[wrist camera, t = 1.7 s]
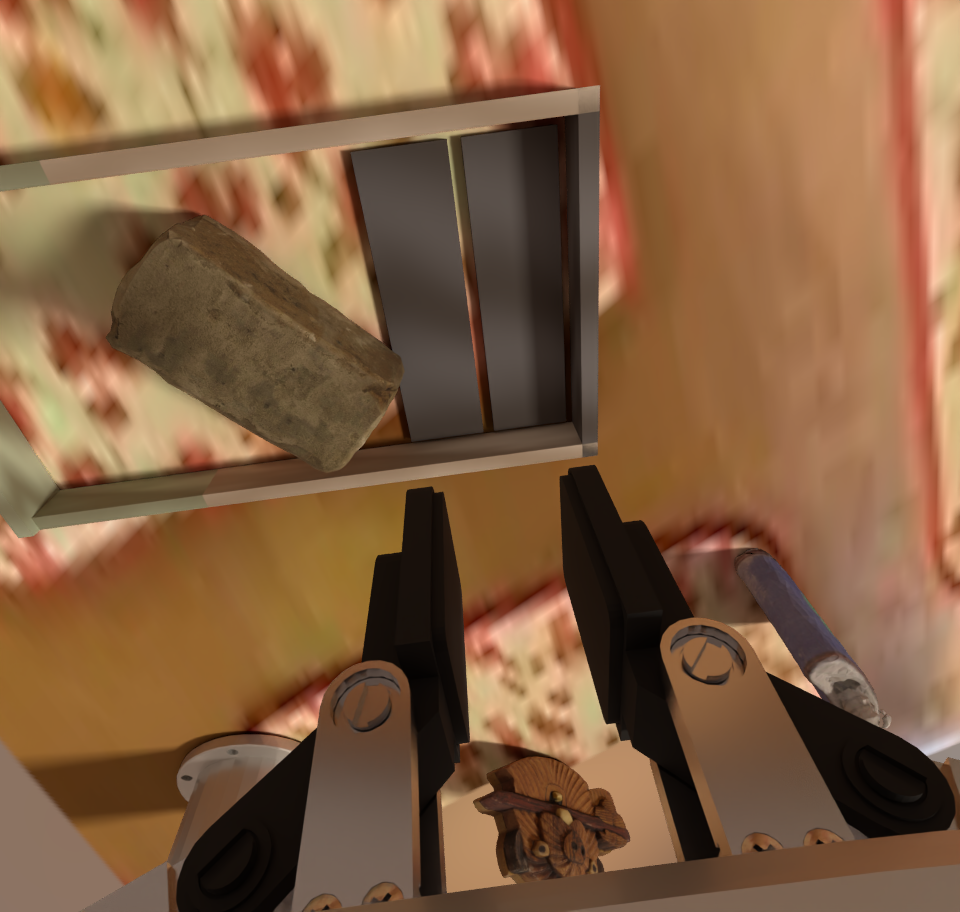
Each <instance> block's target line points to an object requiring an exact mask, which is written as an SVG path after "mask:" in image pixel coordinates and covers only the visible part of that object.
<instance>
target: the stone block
mask: <svg viewBox="0 0 960 912" xmlns="http://www.w3.org/2000/svg"><path fill="white" fill-rule="evenodd" d="M111 315H112V321H113V323H112V327H111V331H110V333H109V334H108V335H107V336H106V339H107V340H108V342H109V343H110V345H111V346H112V348H114V349H116V350H118V351H121V352H123V353H125V354H127V355H129V356H131V357H133V358H135V359H137V360H139V361H141V362H142V363H144V364H145V365H147V366H148V367H150V368H151V369H153V370H154V371H156V372H157V373H158V374H159V375H160V376H161V377H162V378H163V379H164V380H165V381H166V382H167V383H169V384H171V385H173V386H174V387H176V388H178V389H180V390H182V391H184V392H186V393H187V394H189V395H191V396H193V397H195V398H196V399H198V400H200V401H201V402H203V403H205V404H206V405H208V406H209V407H211V408H213V409H214V410H216V411H217V412H219V413H221V414H222V415H224V416H226V417H227V418H229V419H231V420H232V421H234V422H236V423H237V424H239V425H241V426H242V427H244V428H246V429H247V430H249V431H251V432H252V433H254V434H256V435H258V436H259V437H261V438H263V439H264V440H266V441H268V442H270V443H272V444H274V445H275V446H277V447H279V448H281V449H283V450H285V451H287V452H289V453H291V454H293V455H294V456H296V457H298V458H299V459H301V460H303V461H304V462H306V463H307V464H309V465H310V466H312V467H313V468H315V469H317V470H319V471H321V472H325V473H328V472H334V471H337V470H340V469H341V468H343V467H344V466H345V465H346V464H347V463H348V462H349V461H350V460H351V458H352V456H353V455H354V453H355V452H357V451H358V450H359V449H360V448H361V447H362V446H363V445H364V443H365V441H366V440H367V439H368V437H369V436H370V434H371V432H372V431H373V430H374V429H375V428H376V426H377V425H378V423H379V422H380V420H381V419H382V417H383V416H384V414H385V412H386V410H387V408H388V406H389V404H390V403H391V401H392V400H393V399H394V397H395V395H396V393H397V391H398V388H399V386H400V382H401V380H402V378H403V374H404V372H405V371H404V367H403V363H402V360H401V357H400V356H399V355H398V354H396V353H394V352H393V351H392V350H390V349H389V348H388V347H387V346H386V345H385V344H383V343H382V342H381V341H379V340H378V339H376V338H375V337H373V336H372V335H371V334H369V333H368V332H366V331H365V330H364V329H362V328H361V327H360V326H358V325H357V324H355V323H354V322H352V321H351V320H349V319H348V318H347V317H345V316H344V315H343V314H342V313H341V312H339V311H338V310H337V309H335V308H333V307H332V306H331V305H329V304H328V303H327V302H325V301H324V300H322V299H320V298H319V297H317V296H315V295H313V294H311V293H310V292H309V291H308V290H307V289H306V288H305V287H304V286H303V285H302V284H301V283H300V282H299V281H297V280H296V279H294V278H293V277H291V276H290V275H288V274H287V273H286V272H284V271H283V270H282V269H281V268H279V267H278V266H277V265H276V264H274V263H273V262H272V261H271V260H270V259H269V258H268V257H267V256H266V255H265V254H264V253H262V252H261V251H260V250H259V249H257V248H256V247H255V246H253V245H252V244H251V243H250V242H248V241H247V240H245V239H244V238H243V237H241V236H240V235H238V234H237V233H235V232H234V231H232V230H231V229H229V228H227V227H226V226H224V225H222V224H221V223H219V222H217V221H216V220H214V219H212V218H211V217H209V216H207V215H202V216H198V217H195V218H193V219H190V220H188V221H185V222H184V223H183V224H176V225H174V226H173V227H172V228H170V229H169V230H168V231H166V232H165V233H163V234H162V235H161V236H160V237H159V238H158V239H157V240H156V241H155V242H154V243H153V245H152V246H151V247H150V249H149V250H148V252H147V253H146V254H145V256H144V257H143V258H142V259H141V261H140V262H139V263H137V264H136V265H135V266H134V267H132V268H131V269H130V270H129V271H128V272H127V273H126V275H125V276H124V278H123V279H122V281H121V283H120V285H119V286H118V288H117V292H116V295H115V299H114V302H113V306H112V311H111Z"/></svg>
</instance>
